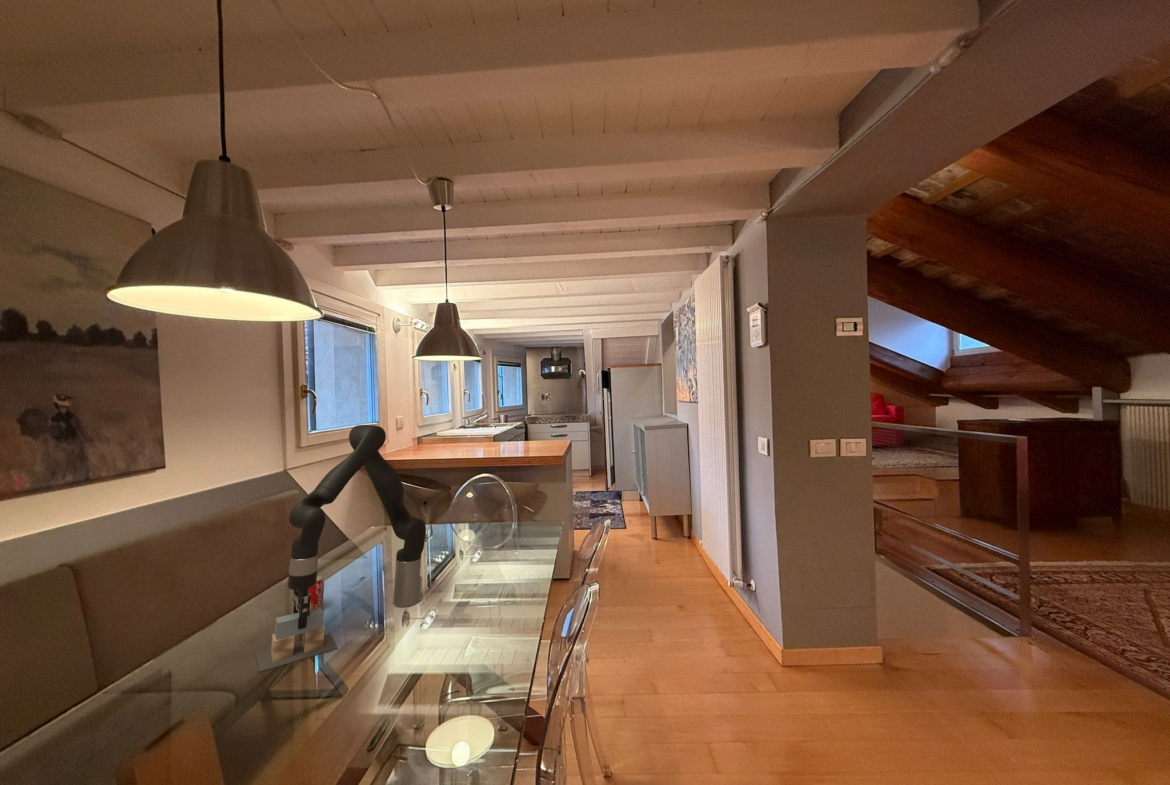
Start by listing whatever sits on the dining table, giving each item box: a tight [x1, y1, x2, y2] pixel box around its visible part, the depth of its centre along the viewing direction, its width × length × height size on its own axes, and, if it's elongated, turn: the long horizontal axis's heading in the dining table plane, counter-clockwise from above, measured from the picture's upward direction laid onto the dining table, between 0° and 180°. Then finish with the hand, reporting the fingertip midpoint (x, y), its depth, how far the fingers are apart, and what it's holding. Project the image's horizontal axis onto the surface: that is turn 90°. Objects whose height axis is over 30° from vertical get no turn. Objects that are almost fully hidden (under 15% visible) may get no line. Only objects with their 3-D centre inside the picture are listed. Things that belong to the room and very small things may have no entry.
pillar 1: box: [270, 633, 295, 662], centre depth 131 cm, size 5×5×6 cm
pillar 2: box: [301, 625, 325, 653], centre depth 136 cm, size 5×5×6 cm
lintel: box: [274, 607, 325, 640], centre depth 133 cm, size 12×4×5 cm, turn 132°
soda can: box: [302, 575, 325, 612], centre depth 158 cm, size 7×7×12 cm
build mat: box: [254, 632, 339, 674], centre depth 133 cm, size 20×11×1 cm, turn 132°
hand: (299, 622), depth 133 cm, fingers open, 8 cm apart
